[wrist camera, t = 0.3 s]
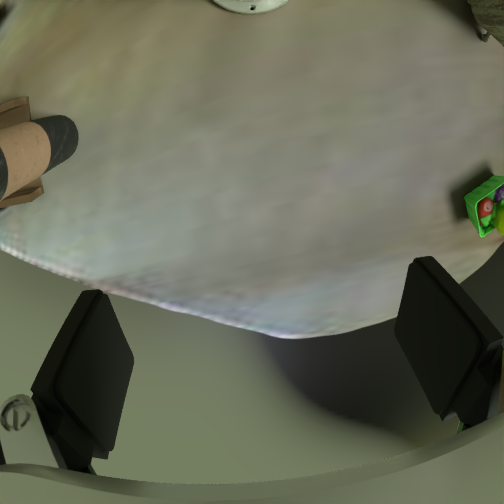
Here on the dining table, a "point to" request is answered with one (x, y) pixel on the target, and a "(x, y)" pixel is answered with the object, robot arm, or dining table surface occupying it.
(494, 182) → the fruit basket
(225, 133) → the dining table surface
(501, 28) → the tabletop clock
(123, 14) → the dining table surface
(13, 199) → the tray
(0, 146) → the travel mug
